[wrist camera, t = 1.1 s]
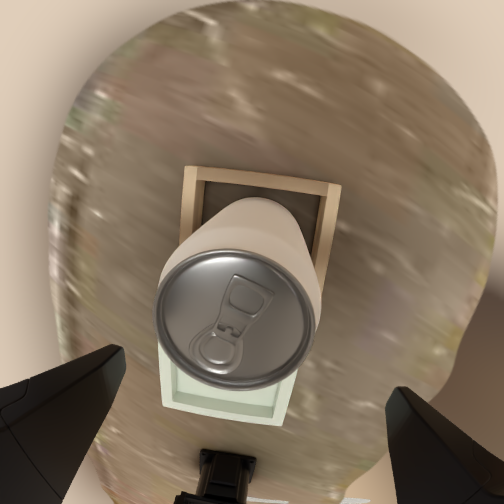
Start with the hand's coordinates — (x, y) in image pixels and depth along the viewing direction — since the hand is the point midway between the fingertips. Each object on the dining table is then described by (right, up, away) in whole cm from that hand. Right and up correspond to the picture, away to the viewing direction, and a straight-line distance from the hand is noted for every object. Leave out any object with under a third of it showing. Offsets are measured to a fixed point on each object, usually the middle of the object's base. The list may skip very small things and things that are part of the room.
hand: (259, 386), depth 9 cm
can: (0, +5, +13) cm, 14 cm away
